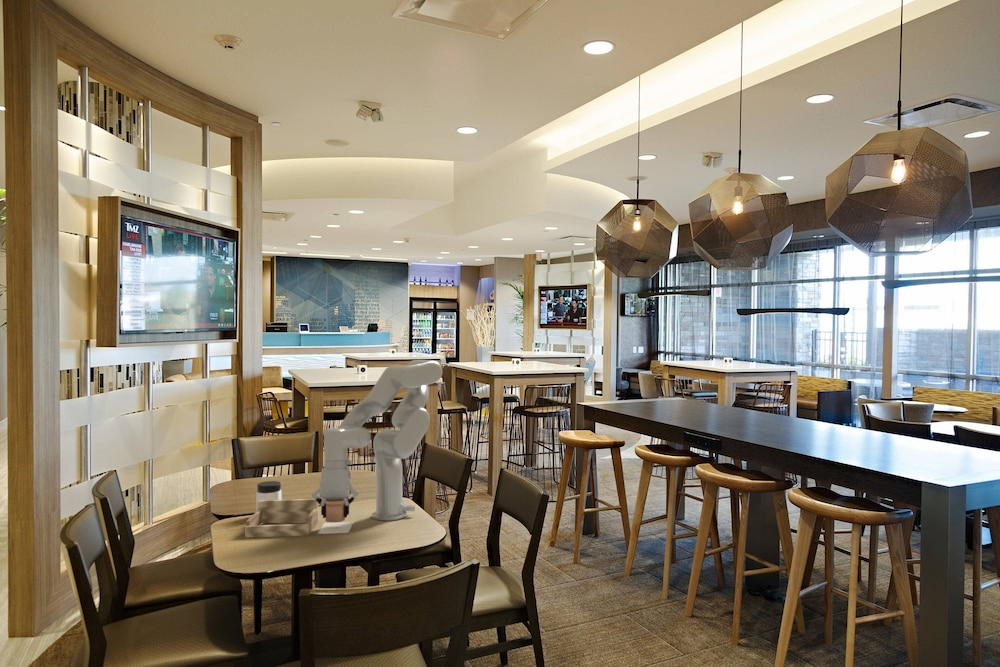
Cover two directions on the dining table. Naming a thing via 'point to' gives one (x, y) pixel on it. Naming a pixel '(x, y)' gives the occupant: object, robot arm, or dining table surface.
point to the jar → (268, 491)
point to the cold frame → (283, 518)
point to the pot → (335, 509)
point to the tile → (336, 528)
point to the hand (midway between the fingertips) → (335, 516)
